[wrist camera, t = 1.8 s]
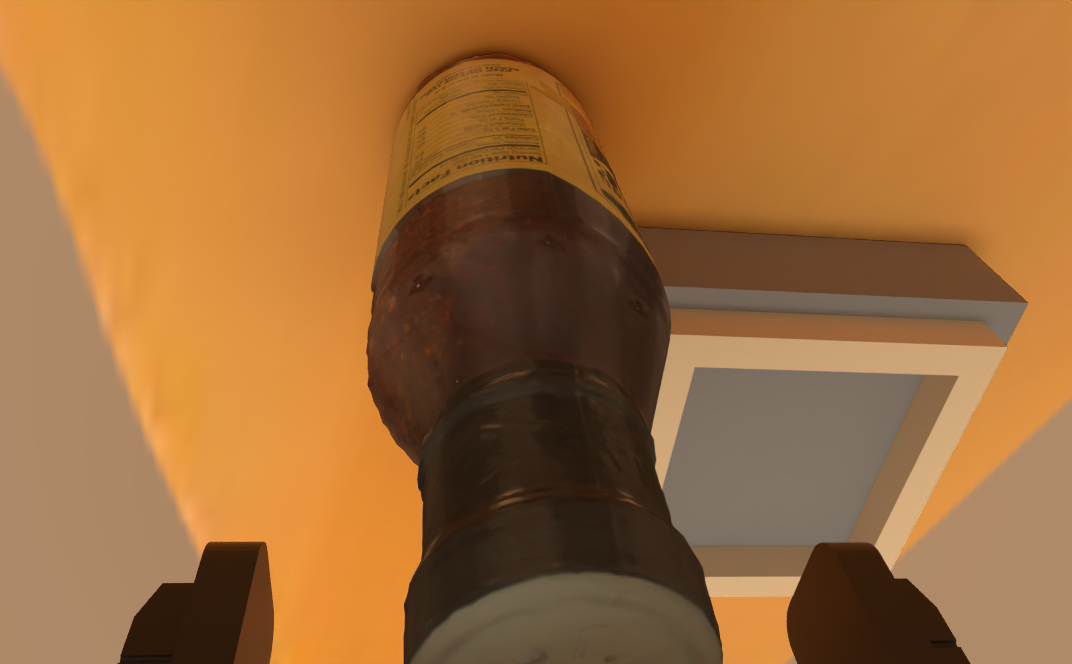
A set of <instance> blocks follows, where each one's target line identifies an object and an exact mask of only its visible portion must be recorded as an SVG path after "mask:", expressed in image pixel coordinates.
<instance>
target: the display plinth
mask: <svg viewBox="0 0 1072 664" xmlns="http://www.w3.org/2000/svg"><path fill="white" fill-rule="evenodd" d="M638 229H639V231H640V233H641V236H642V238H643V240H644V242H645V244H646V245H647V248H648V250H649V252H650V255H651V256H652V258H653V261H654V263H655V266H656V268H657V271H658V273H659V275H660V278H661V280H662V283H663V285H664V288H665V292H666V295H667V298H668V303H669V308H670V316H671V334H670V343H669V348H668V353H667V358H666V363H665V368H664V372H663V377H662V382H661V386H660V391H659V396H658V401H657V406H656V410H655V415H654V420H653V425H652V431H651V435H652V437H653V438H654V444H655V453H656V465H655V469H656V472H657V476H658V479H659V483H660V485H661V489H662V490H663V492H664V495H665V499H666V502H667V505H668V508H669V511H670V516H671V522H672V525H673V527H675V528H676V529H677V530H678V531H679V532H680V533H681V534H682V535H683V536H684V537H685V539H686V541H687V542H688V544H689V546H690V547H691V549H692V551H693V552H694V554H695V555H696V557H697V558H698V560H699V562H700V563H701V565H702V567H703V570H704V576H705V581H706V586H707V589H708V593H709V596H710V597H763V596H793V594H794V592H795V590H796V588H797V585H798V583H799V581H800V578H801V576H802V574H803V571H804V569H805V567H806V565H807V562H808V560H809V558H810V555H811V553H812V551H813V549H814V547H815V546H816V545H817V544H819V543H822V542H867V543H870V544H872V545H874V546H875V547H876V548H877V549H878V551H879V552H880V554H881V555H882V557H883V559H884V561H885V563H886V564H887V566H888V568H889V570H890V571H891V569H892V567H893V565H894V563H895V562H896V560H897V558H898V556H899V554H900V552H901V550H902V548H903V546H904V544H905V542H906V541H907V539H908V537H909V535H910V533H911V531H912V529H913V527H914V525H915V523H916V522H917V520H918V518H919V516H920V514H921V512H922V510H923V508H924V506H925V504H926V502H927V501H928V499H929V497H930V495H931V493H932V491H933V489H934V487H935V485H936V483H937V482H938V480H939V478H940V476H941V474H942V472H943V470H944V468H945V466H946V464H947V462H948V461H949V459H950V457H951V455H952V453H953V451H954V449H955V447H956V445H957V443H958V441H959V440H960V438H961V436H962V434H963V432H964V430H965V428H966V426H967V424H968V422H969V421H970V419H971V417H972V415H973V413H974V411H975V409H976V407H977V405H978V403H979V401H980V400H981V398H982V396H983V394H984V392H985V390H986V388H987V386H988V384H989V382H990V380H991V379H992V377H993V375H994V373H995V371H996V369H997V367H998V365H999V363H1000V361H1001V360H1002V358H1003V356H1004V354H1005V352H1006V350H1007V348H1008V347H1007V346H1006V345H1007V343H1008V341H1009V339H1010V337H1011V335H1012V333H1013V332H1014V330H1015V328H1016V326H1017V324H1018V322H1019V320H1020V318H1021V316H1022V314H1023V312H1024V311H1025V309H1026V307H1027V305H1028V302H1027V301H1026V300H1025V299H1024V298H1023V297H1021V296H1020V295H1019V294H1018V293H1017V292H1016V291H1015V290H1014V289H1013V288H1012V287H1011V286H1009V285H1008V284H1007V283H1006V282H1005V281H1004V280H1003V279H1002V278H1001V277H1000V276H999V275H998V274H996V273H995V272H994V271H993V270H992V269H991V268H990V267H989V266H988V265H987V264H986V263H985V262H983V261H982V260H981V259H980V258H979V257H978V256H977V255H976V254H975V253H974V252H973V251H971V250H970V249H969V248H968V247H967V246H966V245H948V244H930V243H912V242H894V241H877V240H859V239H841V238H823V237H805V236H787V235H770V234H752V233H734V232H716V231H698V230H681V229H663V228H645V227H638Z"/></svg>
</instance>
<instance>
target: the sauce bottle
mask: <svg viewBox="0 0 1072 664" xmlns="http://www.w3.org/2000/svg"><path fill="white" fill-rule="evenodd" d="M371 290H372V292H373V300H372V308H371V314H372V319H371V322H370V325H369V329H368V343H367V350H366V353H367V356H368V374H369V378H368V387H369V389H370V391H371V394H372V397H373V401H374V403H375V405H376V407H377V408H378V410H379V413H380V416H381V419H382V422H383V424H384V425H385V426H386V427H387V428H388V430H389V432H390V434H391V436H392V438H393V439H394V440H395V442H396V444H397V445H398V446H399V447H400V448H402V449H403V450H404V451H405V453H406V454H407V455H408V456H409V458H410V459H411V460H412V461H413V462H414V463H415V464H416V465H418V466H419V470H418V479H417V480H418V488H419V490H420V491H421V496H422V501H423V540H422V559H421V562H420V564H419V566H418V568H417V570H416V572H415V574H414V575H413V578H412V580H411V582H410V584H409V590H408V594H407V597H406V600H405V603H404V610H405V631H404V664H723V652H722V643H721V640H720V633H719V627H718V624H717V621H716V618H715V614H714V611H713V607H712V603H711V600H710V596H709V593H708V589H707V586H706V581H705V576H704V570H703V567H702V565H701V563H700V562H699V560H698V558H697V557H696V555H695V554H694V552H693V551H692V549H691V547H690V546H689V544H688V542H687V541H686V539H685V537H684V536H683V535H682V534H681V533H680V532H679V531H678V530H677V529H676V528H675V527H673V525H672V522H671V516H670V511H669V508H668V505H667V502H666V499H665V495H664V492H663V490H662V489H661V485H660V483H659V479H658V476H657V472H656V469H655V465H656V453H655V444H654V438H653V437H652V435H651V431H652V425H653V420H654V415H655V410H656V406H657V401H658V396H659V391H660V386H661V382H662V377H663V372H664V368H665V363H666V358H667V353H668V348H669V343H670V334H671V316H670V308H669V303H668V298H667V295H666V292H665V288H664V285H663V283H662V280H661V278H660V275H659V273H658V271H657V268H656V266H655V263H654V261H653V258H652V256H651V255H650V252H649V250H648V248H647V245H646V244H645V242H644V240H643V238H642V236H641V233H640V231H639V229H638V227H637V225H636V223H635V221H634V219H633V217H632V215H631V212H630V210H629V208H628V206H627V204H626V202H625V200H624V197H623V195H622V192H621V190H620V188H619V186H618V184H617V181H616V178H615V175H614V173H613V171H612V170H611V168H610V166H609V164H608V162H607V159H606V157H605V155H604V152H603V150H602V148H601V146H600V144H599V141H598V139H597V137H596V135H595V133H594V131H593V128H592V126H591V124H590V122H589V120H588V118H587V116H586V114H585V112H584V110H583V108H582V107H581V105H580V104H579V102H578V101H577V100H576V98H575V97H574V96H573V94H572V93H571V92H570V91H569V90H568V89H567V88H566V87H565V86H564V85H563V84H562V83H561V82H559V81H558V80H557V79H556V78H555V77H553V76H551V75H550V74H548V73H546V72H545V71H543V70H542V69H540V68H538V67H535V66H534V65H533V64H531V63H528V62H526V61H523V60H521V59H519V58H516V57H513V56H510V55H506V54H490V55H482V56H474V57H472V58H471V59H464V60H461V61H459V62H456V63H454V64H452V65H450V66H448V67H447V68H444V69H442V70H441V71H437V72H435V73H433V74H432V75H431V76H429V77H428V78H427V79H425V80H424V81H423V82H422V83H421V84H420V85H419V87H418V92H417V93H416V95H415V96H414V98H413V99H412V101H411V102H410V103H409V105H408V107H407V108H406V110H405V111H404V113H403V115H402V118H401V120H400V122H399V125H398V127H397V131H396V134H395V139H394V143H393V148H392V156H391V163H390V169H389V175H388V181H387V187H386V193H385V200H384V206H383V212H382V218H381V225H380V231H379V237H378V244H377V250H376V257H375V263H374V270H373V276H372V282H371Z"/></svg>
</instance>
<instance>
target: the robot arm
mask: <svg viewBox="0 0 1072 664" xmlns="http://www.w3.org/2000/svg"><path fill="white" fill-rule="evenodd" d="M273 631H274V609H273V599H272V590H271V580H270V571H269V562H268V552H267V546H266V543H265V542H209V543H208V544H207V545H206V547H205V549H204V552H203V555H202V558H201V561H200V564H199V568H198V571H197V575H196V578H195V581H194V583H163V584H162V585H161V586H160V587H159V588H158V589H157V591H156V592H155V593H154V594H153V595H152V597H151V598H150V599H149V600H148V601H147V602H146V604H145V605H144V606H143V607H142V608H141V610H140V611H139V612H138V613H137V614H136V616H135V617H134V619H133V622H132V625H131V627H130V630H129V633H128V636H127V639H126V642H125V644H124V647H123V650H122V653H121V659H120V663H118V664H269V663H270V657H271V651H272V643H273ZM787 632H788V638H789V642H790V646H791V648H792V651H793V654H794V656H795V659H796V661H797V664H970V662H969V661H968V659H967V657H966V656H965V654H964V652H963V651H962V649H961V647H957V645H956V639H955V637H954V635H953V634H952V632H951V630H950V629H949V627H948V625H947V624H946V622H945V620H944V619H943V617H942V615H941V614H940V612H939V610H938V609H937V607H936V606H935V605H934V604H933V603H932V602H931V601H930V600H929V599H928V598H927V597H925V596H924V595H923V594H922V593H921V592H920V591H919V590H918V589H917V588H916V587H915V586H914V585H913V584H912V583H911V582H910V581H909V580H908V579H895V578H894V577H893V575H892V573H891V571H890V570H889V568H888V566H887V564H886V563H885V561H884V559H883V557H882V555H881V554H880V552H879V551H878V549H877V548H876V547H875V546H874V545H872V544H870V543H867V542H822V543H819V544H817V545H816V546H815V547H814V549H813V551H812V553H811V555H810V558H809V560H808V562H807V565H806V567H805V569H804V571H803V574H802V576H801V578H800V581H799V583H798V585H797V588H796V590H795V592H794V594H793V597H792V599H791V601H790V604H789V607H788V611H787Z"/></svg>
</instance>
